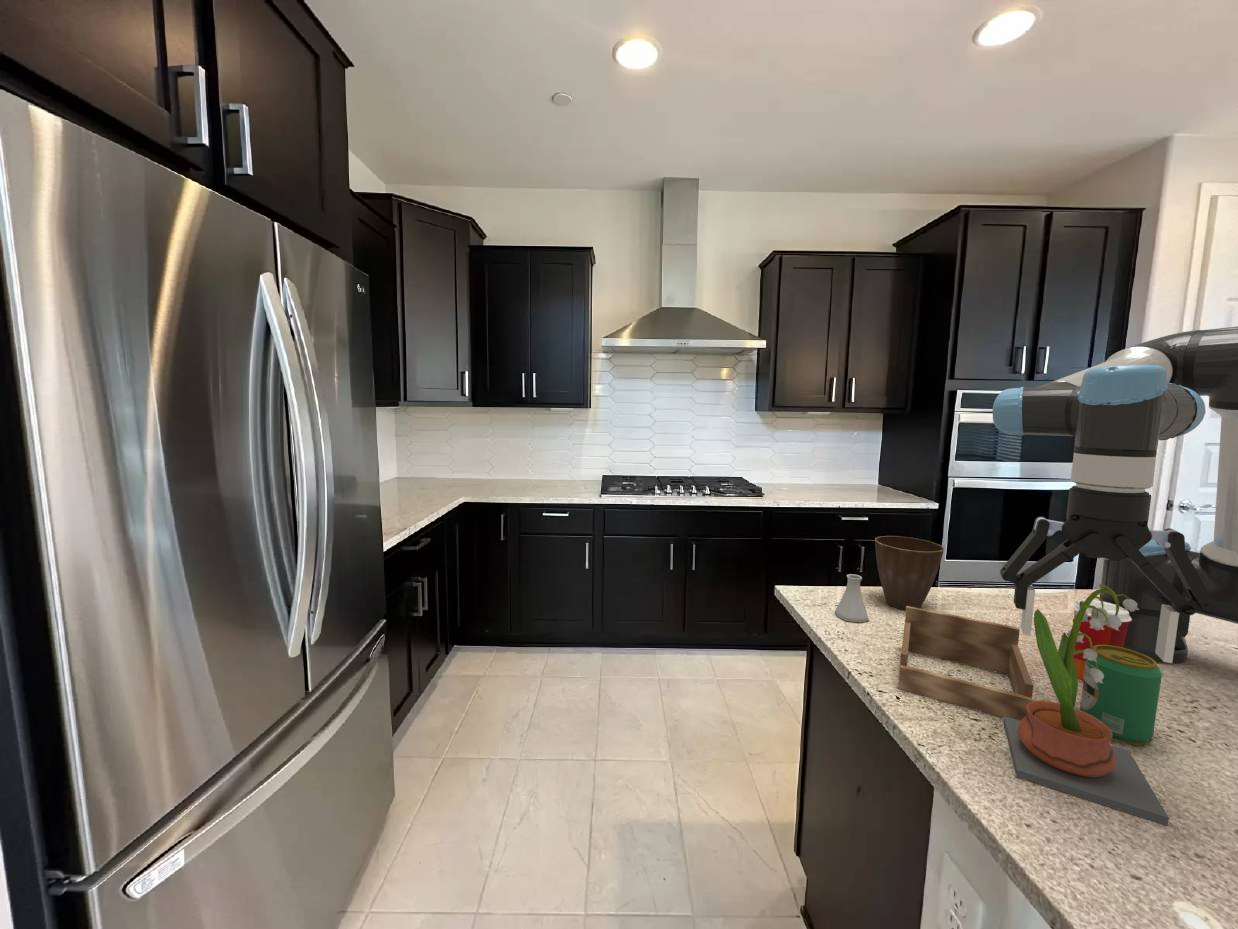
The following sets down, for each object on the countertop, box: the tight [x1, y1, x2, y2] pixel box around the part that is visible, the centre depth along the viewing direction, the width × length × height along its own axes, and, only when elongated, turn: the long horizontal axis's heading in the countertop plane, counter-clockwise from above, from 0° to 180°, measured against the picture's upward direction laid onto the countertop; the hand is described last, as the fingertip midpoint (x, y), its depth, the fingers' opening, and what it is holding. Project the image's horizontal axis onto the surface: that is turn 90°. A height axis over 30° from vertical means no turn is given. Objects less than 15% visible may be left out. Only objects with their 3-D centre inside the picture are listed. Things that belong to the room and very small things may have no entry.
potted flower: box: [1017, 583, 1139, 777], centre depth 66 cm, size 12×10×25 cm
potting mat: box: [1002, 716, 1170, 826], centre depth 67 cm, size 14×14×1 cm
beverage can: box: [1079, 645, 1163, 746], centre depth 75 cm, size 8×8×12 cm
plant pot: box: [874, 535, 945, 610], centre depth 123 cm, size 15×15×16 cm
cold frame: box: [897, 606, 1034, 720], centre depth 88 cm, size 18×18×9 cm
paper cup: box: [1071, 598, 1132, 682], centre depth 90 cm, size 8×8×14 cm
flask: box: [834, 573, 870, 623], centre depth 116 cm, size 7×7×10 cm
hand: (1090, 644), depth 66 cm, fingers open, 13 cm apart
